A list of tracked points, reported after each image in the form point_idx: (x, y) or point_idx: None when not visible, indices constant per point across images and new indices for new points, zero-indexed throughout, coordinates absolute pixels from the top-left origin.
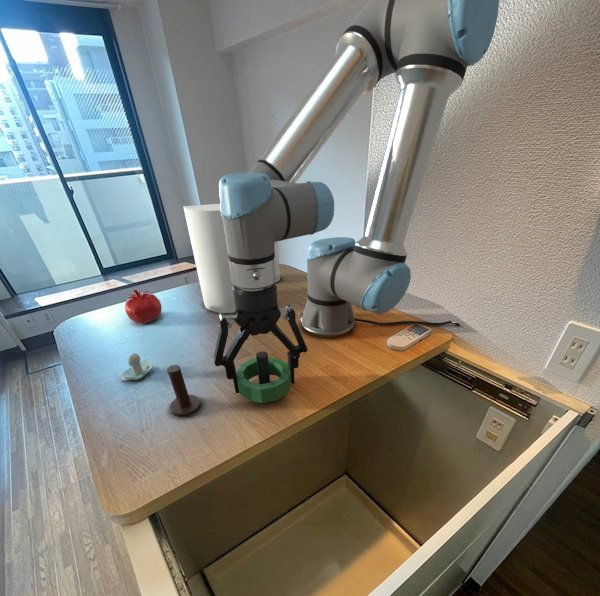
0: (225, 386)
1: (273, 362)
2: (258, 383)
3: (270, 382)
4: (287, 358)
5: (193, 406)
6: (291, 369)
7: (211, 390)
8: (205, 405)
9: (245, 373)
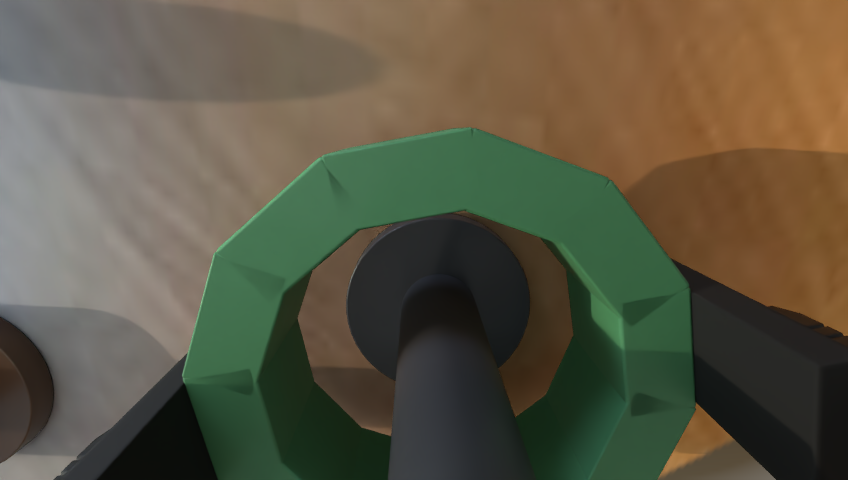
0: (160, 203)
1: (552, 240)
2: (390, 242)
3: (475, 237)
4: (737, 320)
5: (2, 422)
6: (713, 409)
7: (73, 237)
8: (79, 372)
9: (281, 325)
